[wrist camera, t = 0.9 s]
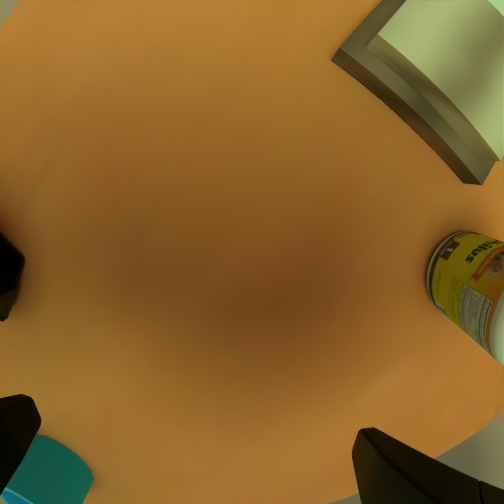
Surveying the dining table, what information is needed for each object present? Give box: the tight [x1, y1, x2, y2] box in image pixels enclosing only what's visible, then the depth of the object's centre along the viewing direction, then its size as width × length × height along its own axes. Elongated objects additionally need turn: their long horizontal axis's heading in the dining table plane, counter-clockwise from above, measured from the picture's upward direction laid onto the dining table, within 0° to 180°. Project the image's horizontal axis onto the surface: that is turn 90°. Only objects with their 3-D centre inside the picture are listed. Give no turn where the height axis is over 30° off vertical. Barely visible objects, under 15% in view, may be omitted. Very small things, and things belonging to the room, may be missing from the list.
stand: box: [332, 0, 504, 185], centre depth 13 cm, size 11×11×4 cm
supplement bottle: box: [427, 231, 504, 365], centre depth 13 cm, size 6×6×10 cm
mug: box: [0, 435, 94, 504], centre depth 20 cm, size 12×8×8 cm
